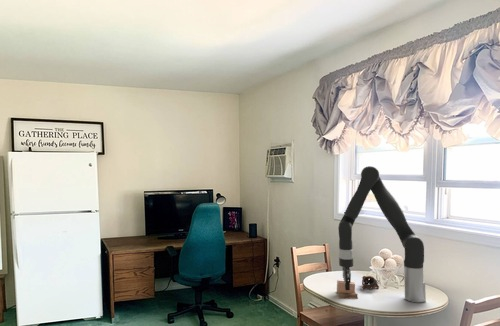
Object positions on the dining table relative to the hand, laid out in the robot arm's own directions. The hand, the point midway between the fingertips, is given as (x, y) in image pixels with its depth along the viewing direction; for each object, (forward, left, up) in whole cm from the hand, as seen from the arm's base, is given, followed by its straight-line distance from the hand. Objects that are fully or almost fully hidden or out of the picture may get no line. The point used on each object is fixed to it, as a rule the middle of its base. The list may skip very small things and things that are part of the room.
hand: (346, 288), depth 194 cm
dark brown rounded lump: (-14, -12, -4) cm, 19 cm away
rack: (0, 0, -4) cm, 4 cm away
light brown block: (+1, 0, -2) cm, 2 cm away
